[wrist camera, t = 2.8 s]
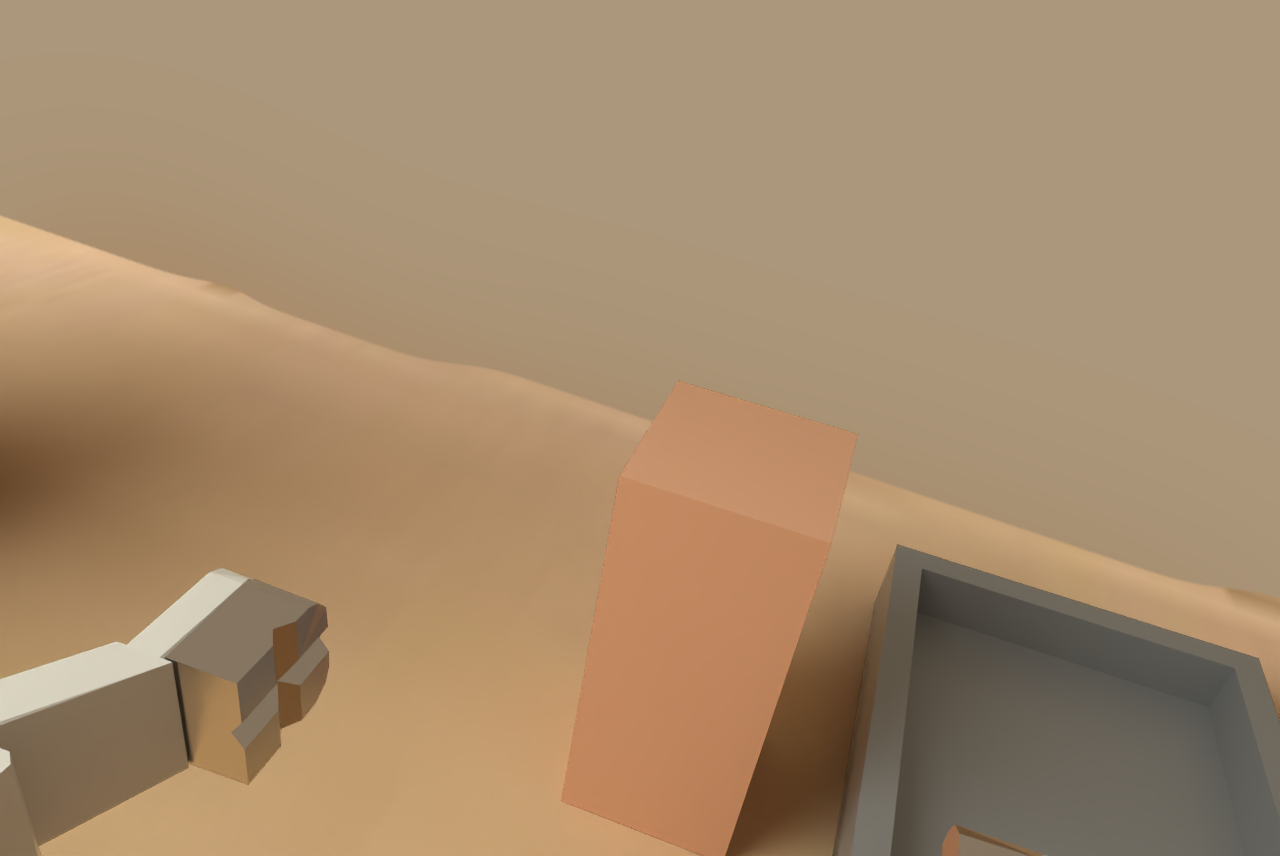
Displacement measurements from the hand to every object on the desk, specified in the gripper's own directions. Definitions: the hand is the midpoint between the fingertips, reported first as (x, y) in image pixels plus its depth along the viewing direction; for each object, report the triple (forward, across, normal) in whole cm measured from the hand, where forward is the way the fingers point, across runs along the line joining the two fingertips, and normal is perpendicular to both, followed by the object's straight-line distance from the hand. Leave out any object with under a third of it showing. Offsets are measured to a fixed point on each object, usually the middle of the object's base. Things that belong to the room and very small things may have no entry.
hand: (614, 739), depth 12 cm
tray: (+15, -11, +15) cm, 25 cm away
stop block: (+12, +1, +15) cm, 20 cm away
